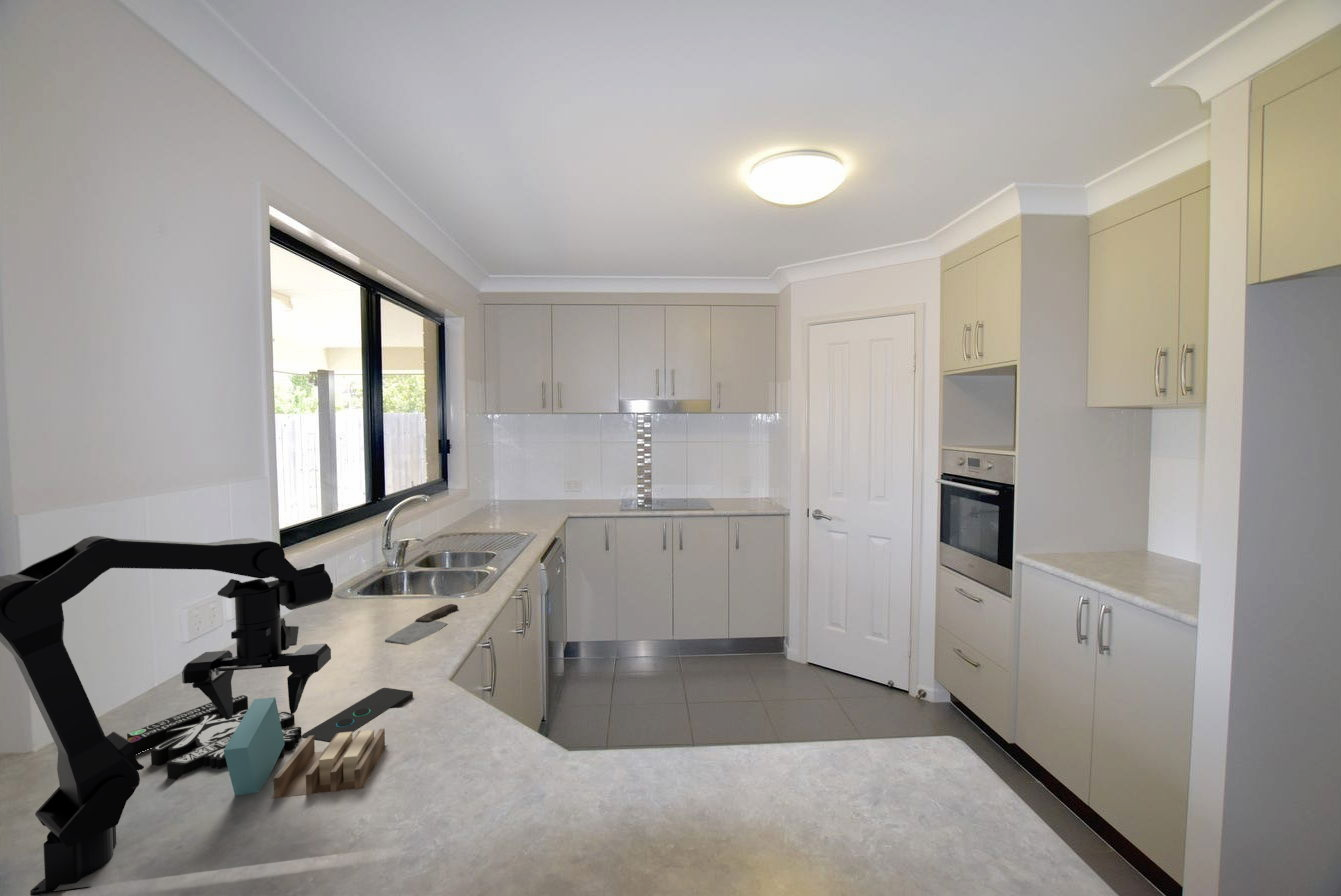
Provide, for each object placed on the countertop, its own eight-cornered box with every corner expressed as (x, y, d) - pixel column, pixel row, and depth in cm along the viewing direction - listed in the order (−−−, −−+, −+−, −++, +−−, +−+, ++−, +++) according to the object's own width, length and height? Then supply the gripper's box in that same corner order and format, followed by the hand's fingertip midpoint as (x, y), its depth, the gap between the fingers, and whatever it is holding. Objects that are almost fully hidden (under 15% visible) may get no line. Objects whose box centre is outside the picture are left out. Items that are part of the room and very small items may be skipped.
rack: (363, 794, 87) (362, 768, 87) (271, 804, 85) (270, 778, 84) (387, 750, 99) (387, 728, 99) (307, 758, 96) (306, 735, 96)
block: (258, 797, 86) (247, 747, 83) (236, 800, 86) (223, 750, 82) (284, 744, 95) (275, 697, 92) (264, 746, 95) (254, 699, 91)
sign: (236, 692, 115) (329, 725, 102) (236, 707, 116) (329, 741, 103) (113, 738, 98) (205, 785, 85) (113, 755, 98) (206, 804, 85)
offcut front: (357, 781, 89) (356, 756, 88) (343, 782, 88) (342, 757, 88) (374, 752, 96) (373, 729, 96) (361, 753, 96) (361, 730, 96)
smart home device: (298, 735, 102) (382, 686, 121) (299, 744, 102) (382, 694, 121) (336, 741, 99) (415, 691, 119) (336, 751, 99) (415, 699, 119)
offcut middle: (333, 783, 88) (333, 758, 88) (319, 785, 88) (319, 759, 87) (352, 754, 96) (352, 731, 96) (339, 755, 95) (339, 732, 95)
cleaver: (443, 609, 178) (443, 602, 178) (472, 610, 176) (471, 604, 176) (381, 645, 149) (380, 638, 149) (414, 648, 147) (414, 640, 147)
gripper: (342, 599, 99) (345, 687, 99) (222, 606, 95) (225, 697, 96) (314, 620, 88) (317, 719, 88) (177, 629, 84) (181, 732, 85)
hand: (261, 715), depth 90 cm, fingers open, 9 cm apart
